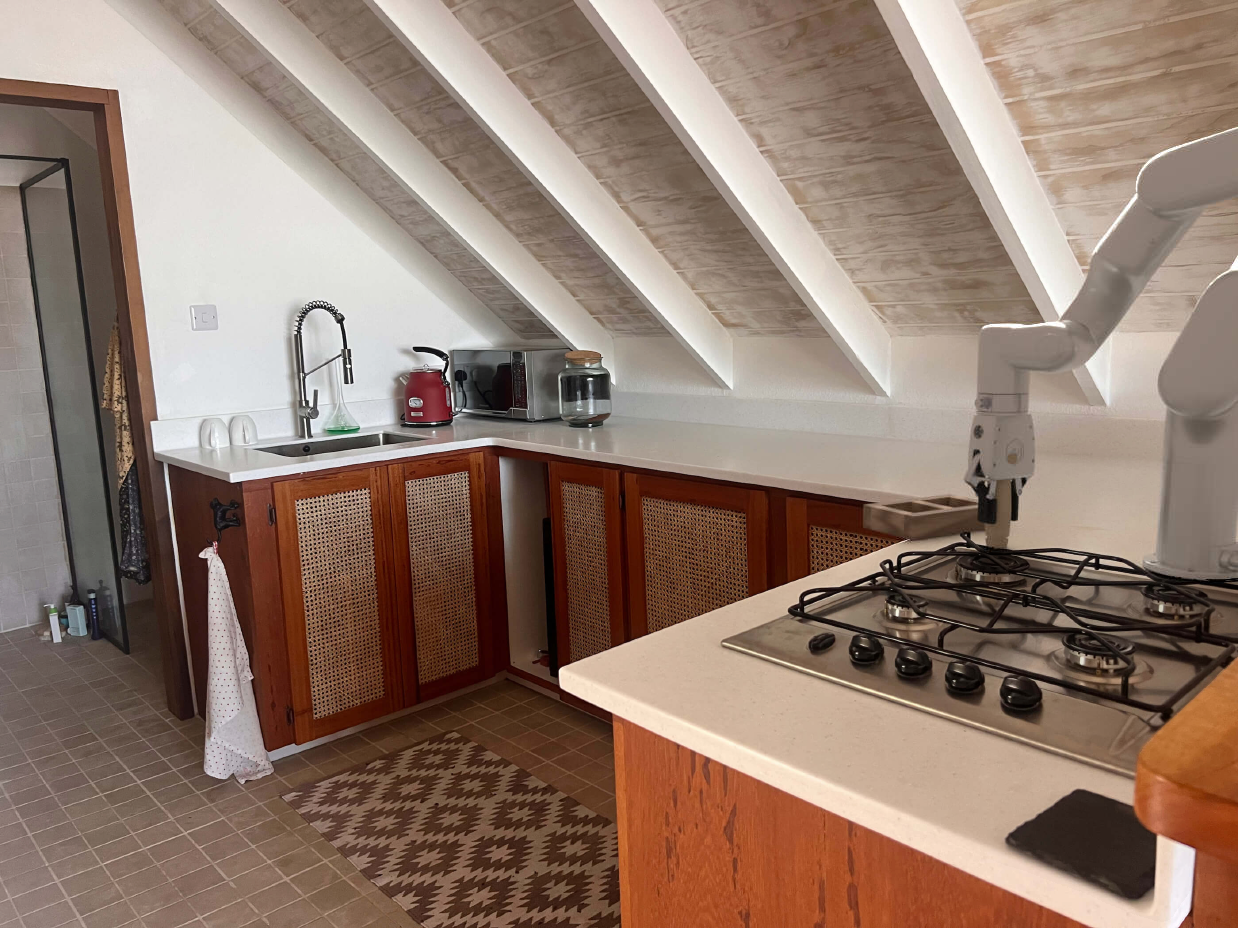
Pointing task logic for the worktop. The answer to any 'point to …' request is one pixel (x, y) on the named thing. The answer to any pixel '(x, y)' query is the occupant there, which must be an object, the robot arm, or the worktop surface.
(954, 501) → the grey rectangular tray
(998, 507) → the handle
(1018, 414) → the robot arm
